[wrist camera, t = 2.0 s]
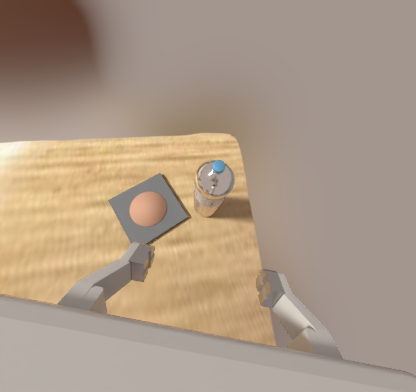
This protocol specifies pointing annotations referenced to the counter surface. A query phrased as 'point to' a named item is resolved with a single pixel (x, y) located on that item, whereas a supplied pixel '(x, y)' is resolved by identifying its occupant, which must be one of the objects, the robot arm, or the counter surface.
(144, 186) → the spot mat
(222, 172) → the water bottle
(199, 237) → the counter surface
